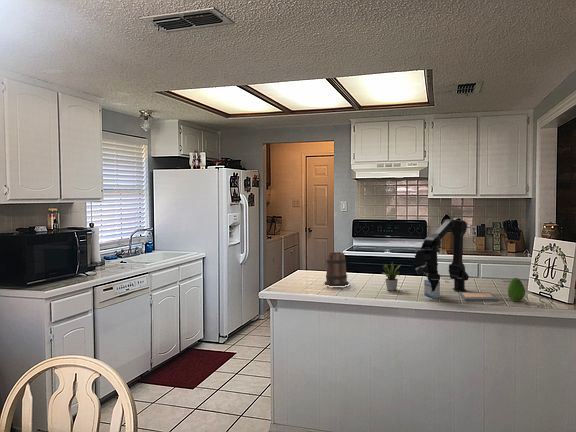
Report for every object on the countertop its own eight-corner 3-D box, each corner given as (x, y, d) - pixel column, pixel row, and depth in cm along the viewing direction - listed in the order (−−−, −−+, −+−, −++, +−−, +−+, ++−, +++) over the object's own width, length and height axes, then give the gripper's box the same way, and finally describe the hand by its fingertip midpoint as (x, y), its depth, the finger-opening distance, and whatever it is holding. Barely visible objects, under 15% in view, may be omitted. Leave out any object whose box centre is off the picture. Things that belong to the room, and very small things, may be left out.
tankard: (347, 288, 291) (346, 255, 290) (319, 287, 296) (319, 254, 295) (354, 281, 313) (354, 250, 312) (328, 280, 318) (328, 249, 317)
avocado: (508, 302, 244) (508, 279, 244) (507, 299, 252) (507, 276, 251) (526, 303, 241) (525, 279, 241) (524, 300, 249) (524, 276, 248)
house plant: (374, 291, 279) (374, 263, 278) (379, 287, 292) (378, 260, 291) (400, 293, 274) (399, 264, 273) (403, 288, 287) (403, 260, 286)
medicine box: (423, 295, 266) (423, 279, 265) (430, 294, 268) (430, 279, 267) (433, 298, 259) (433, 282, 258) (440, 297, 260) (440, 281, 260)
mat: (459, 294, 266) (459, 291, 266) (490, 294, 264) (490, 292, 264) (464, 300, 251) (464, 298, 251) (497, 301, 248) (497, 298, 248)
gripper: (414, 258, 273) (415, 286, 274) (417, 263, 254) (418, 293, 255) (435, 258, 271) (435, 286, 272) (440, 263, 253) (440, 293, 253)
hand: (432, 289), depth 263 cm, fingers open, 9 cm apart
